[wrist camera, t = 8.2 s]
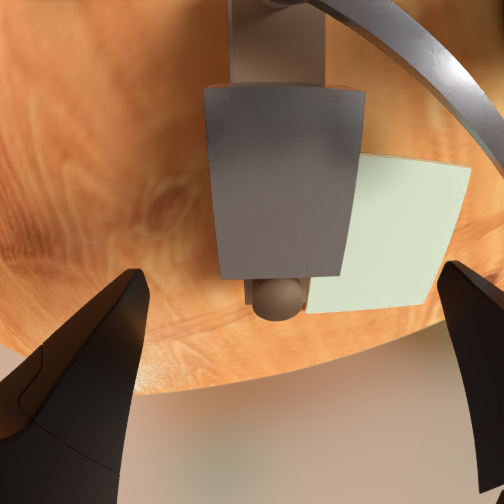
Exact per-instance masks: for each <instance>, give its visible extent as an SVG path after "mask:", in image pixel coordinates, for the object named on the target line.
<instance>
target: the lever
mask: <svg viewBox="0 0 504 504" xmlns="http://www.w3.org/2000/svg"><path fill="white" fill-rule="evenodd" d="M269 1H271V2H274V3H278V4H283V5H298V4H303V3H309V4H311V5H312V6H314V7H316V8H318V9H320V10H321V11H323V12H325V13H327V14H328V15H330V16H332V17H333V18H335V19H337V20H338V21H340V22H342V23H343V24H345V25H346V26H348V27H349V28H351V29H352V30H354V31H355V32H357V33H358V34H360V35H361V36H363V37H364V38H366V39H367V40H368V41H370V42H371V43H373V44H374V45H375V46H377V47H378V48H379V49H381V50H382V51H383V52H385V53H386V54H387V55H388V56H390V57H391V58H392V59H394V60H395V61H396V62H397V63H398V64H400V65H401V66H402V67H403V68H404V69H406V70H407V71H408V72H409V73H410V74H411V75H413V76H414V77H415V78H416V79H417V80H418V81H419V82H420V83H421V84H423V85H424V86H425V87H426V88H427V89H428V90H429V91H430V92H431V93H432V94H433V95H434V96H435V97H436V98H437V99H438V100H439V101H440V102H441V103H442V104H443V105H444V106H445V107H446V108H447V109H448V110H449V111H450V112H451V113H452V114H453V115H454V117H455V118H456V119H457V120H458V121H459V122H460V123H461V124H462V125H463V127H464V128H465V129H466V130H467V131H468V132H469V134H470V135H471V136H472V137H473V138H474V140H475V141H476V142H477V143H478V145H479V146H480V147H481V148H482V150H483V151H484V152H485V153H486V155H487V156H488V157H489V159H490V160H491V161H492V163H493V164H494V166H495V167H496V168H497V170H498V171H499V173H500V174H501V176H502V177H503V178H504V119H503V118H502V116H501V115H500V114H499V112H498V111H497V109H496V108H495V106H494V105H493V104H492V102H491V101H490V100H489V98H488V97H487V96H486V94H485V93H484V92H483V90H482V89H481V88H480V87H479V85H478V84H477V83H476V82H475V80H474V79H473V78H472V77H471V76H470V75H469V73H468V72H467V71H466V70H465V69H464V68H463V66H462V65H461V64H460V63H459V62H458V61H457V60H456V59H455V58H454V57H453V56H452V54H451V53H450V52H449V51H448V50H447V49H446V48H445V47H444V46H443V45H442V44H441V43H440V42H439V41H438V40H437V39H436V38H435V37H434V36H432V35H431V34H430V33H429V32H428V31H427V30H426V29H425V28H424V27H423V26H422V25H420V24H419V23H418V22H417V21H416V20H415V19H413V18H412V17H411V16H410V15H409V14H408V13H406V12H405V11H404V10H403V9H401V8H400V7H399V6H398V5H396V4H395V3H394V2H392V1H391V0H269Z"/></svg>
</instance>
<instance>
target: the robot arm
mask: <svg viewBox="0 0 504 504" xmlns="http://www.w3.org/2000/svg"><path fill="white" fill-rule="evenodd" d="M437 289H438V293H439V296H440V300H441V304H442V307H443V311H444V315H445V319H446V324H447V327H448V331H449V334H450V337H451V341H452V343H453V347H454V350H455V354H456V357H457V361H458V364H459V368H460V372H461V376H462V380H463V384H464V388H465V392H466V397H467V402H468V406H469V411H470V416H471V422H472V428H473V435H474V440H475V441H474V443H475V450H476V459H477V469H478V484H479V493H480V494H481V493H483V492H486V491H489V490H491V489H494V488H496V487H499V486H501V485H503V484H504V292H503V291H502V290H500V289H499V288H497V287H496V286H495V285H493V284H492V283H490V282H489V281H488V280H486V279H485V278H483V277H482V276H480V275H479V274H477V273H476V272H474V271H473V270H471V269H470V268H468V267H467V266H465V265H464V264H462V263H461V262H459V261H457V260H453V261H447V262H446V263H445V265H444V267H443V269H442V272H441V274H440V276H439V278H438V281H437ZM149 300H150V292H149V288H148V285H147V282H146V279H145V276H144V273H143V271H142V270H141V269H127V270H125V271H124V272H123V273H122V274H121V275H119V276H118V277H117V278H116V279H115V280H113V281H112V282H111V283H110V284H109V285H107V286H106V287H105V288H104V289H103V290H102V291H100V292H99V293H98V294H97V295H96V296H95V297H93V298H92V299H91V300H90V301H89V302H88V303H86V304H85V305H84V306H83V307H82V308H81V309H80V310H79V311H77V312H76V313H75V314H74V315H73V316H72V317H71V318H70V319H68V320H67V321H66V322H65V323H64V324H63V325H62V326H61V327H60V328H59V329H57V330H56V331H55V332H54V333H53V334H52V335H51V336H50V337H49V338H48V339H47V340H46V341H45V342H43V345H40V346H39V347H38V348H37V349H36V350H35V351H34V352H33V353H32V354H31V355H30V356H29V357H28V358H27V359H25V361H23V362H22V363H21V364H20V365H19V366H18V367H17V368H16V369H14V370H13V371H12V372H11V373H10V374H9V375H8V376H6V377H5V378H4V379H3V380H2V381H1V382H0V504H117V495H118V486H119V477H120V474H119V473H120V468H121V460H122V453H123V445H124V440H125V434H126V427H127V422H128V416H129V410H130V405H131V400H132V395H133V390H134V385H135V380H136V376H137V371H138V366H139V362H140V358H141V353H142V348H143V343H144V336H145V328H146V321H147V313H148V306H149ZM496 504H504V490H502V491H501V494H500V496H499V498H498V500H497V503H496Z"/></svg>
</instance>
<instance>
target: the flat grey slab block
mask: <svg viewBox="0 0 504 504" xmlns="http://www.w3.org/2000/svg"><path fill="white" fill-rule="evenodd" d="M203 95H204V110H205V124H206V136H207V148H208V160H209V171H210V182H211V192H212V203H213V212H214V222H215V231H216V240H217V249H218V258H219V266H220V274H221V280H224V279H272V278H305V277H332V276H340V272H341V267H342V263H343V258H344V253H345V247H346V242H347V237H348V231H349V225H350V220H351V213H352V207H353V201H354V194H355V187H356V180H357V173H358V165H359V157H360V148H361V138H362V128H363V117H364V103H365V92H363V91H360V90H357V89H354V88H350V87H347V86H340V85H329V84H316V83H296V82H241V83H222V84H211V85H209V86H207V87H205V88H204V89H203Z"/></svg>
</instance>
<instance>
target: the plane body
mask: <svg viewBox="0 0 504 504" xmlns="http://www.w3.org/2000/svg"><path fill="white" fill-rule="evenodd" d="M227 6H228V36H229V62H230V83H241V82H296V83H316V84H325V12H323V11H321V10H320V9H318V8H316V7H314V6H312V5H311V4H309V3H303V4H298V5H283V4H278V3H274V2H271V1H269V0H227ZM308 282H309V277H305V278H272V279H244V290H245V305H253V310H254V312H255V313H256V314H257V315H258V316H259V317H261V318H263V319H265V320H269V321H283V320H287V319H290V318H292V317H294V316H295V315H297V314H298V313H299V312H300V310H301V309H302V307H303V303H306V296H307V289H308Z"/></svg>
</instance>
